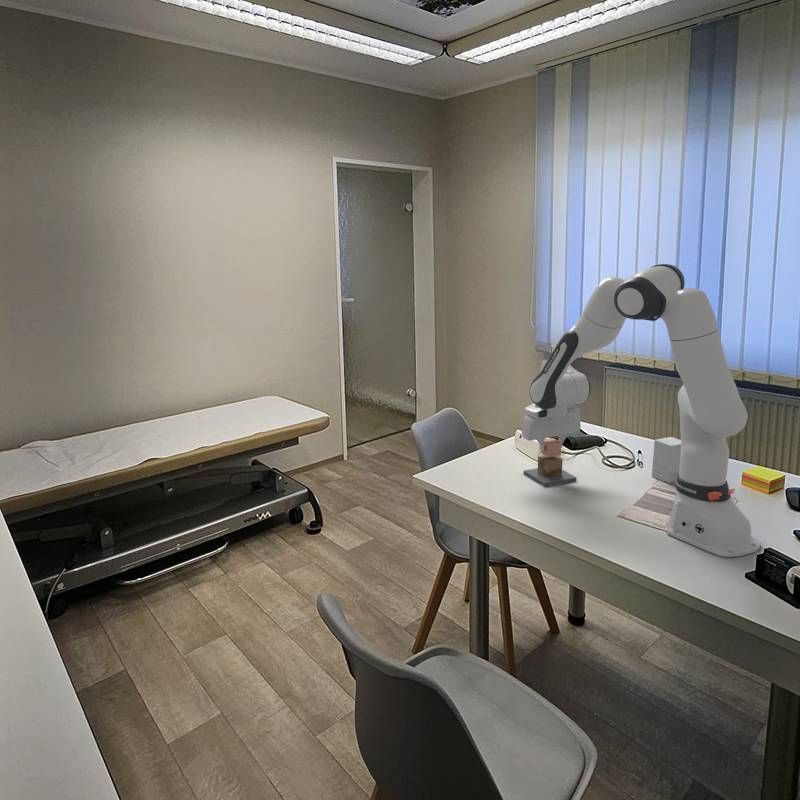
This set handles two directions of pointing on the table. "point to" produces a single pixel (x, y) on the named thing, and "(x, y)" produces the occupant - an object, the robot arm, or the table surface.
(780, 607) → the table surface
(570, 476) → the board
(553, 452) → the terracotta block
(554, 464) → the walnut block
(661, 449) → the supplement box
